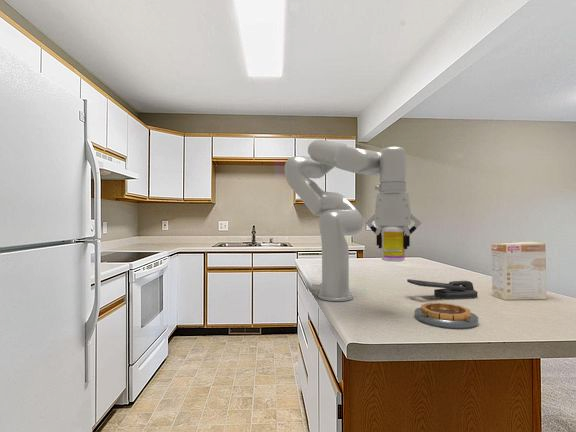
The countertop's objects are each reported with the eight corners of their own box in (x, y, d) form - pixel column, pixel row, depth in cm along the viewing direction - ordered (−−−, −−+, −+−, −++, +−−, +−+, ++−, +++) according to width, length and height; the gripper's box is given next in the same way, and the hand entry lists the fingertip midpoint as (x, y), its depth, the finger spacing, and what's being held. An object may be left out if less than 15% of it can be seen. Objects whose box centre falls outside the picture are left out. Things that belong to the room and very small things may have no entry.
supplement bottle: (407, 262, 94) (407, 217, 94) (385, 262, 94) (384, 217, 94) (400, 259, 101) (400, 217, 101) (378, 259, 101) (378, 217, 101)
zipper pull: (404, 278, 118) (462, 275, 124) (404, 296, 118) (462, 292, 124) (420, 283, 109) (481, 279, 115) (420, 303, 109) (481, 298, 115)
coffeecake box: (531, 295, 119) (530, 241, 119) (547, 299, 112) (546, 243, 112) (491, 295, 118) (490, 241, 119) (504, 300, 111) (503, 243, 111)
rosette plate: (413, 324, 87) (413, 313, 87) (415, 308, 101) (415, 299, 101) (482, 332, 80) (482, 320, 80) (474, 314, 95) (474, 304, 95)
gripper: (361, 189, 98) (361, 248, 98) (423, 186, 91) (424, 250, 91) (365, 190, 105) (365, 246, 104) (424, 188, 98) (424, 248, 98)
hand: (392, 247), depth 98 cm, fingers closed on supplement bottle, 6 cm apart
